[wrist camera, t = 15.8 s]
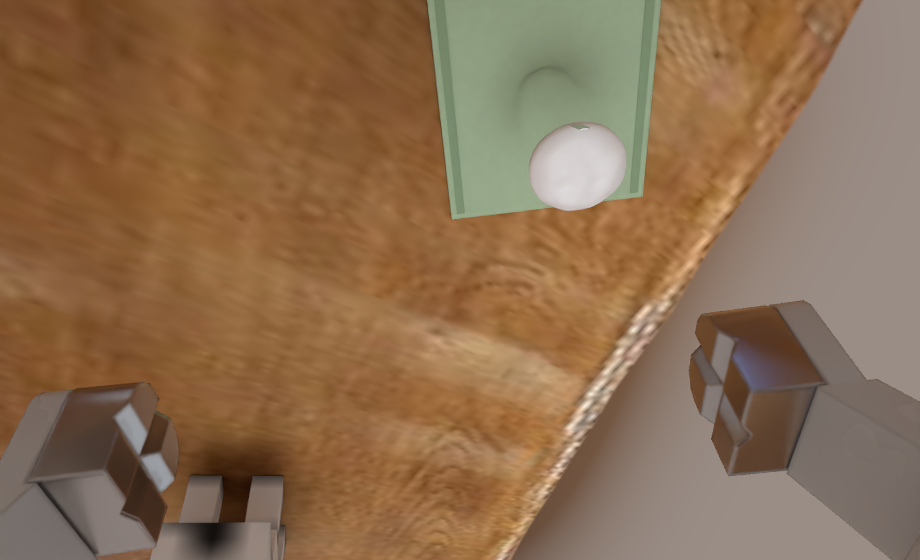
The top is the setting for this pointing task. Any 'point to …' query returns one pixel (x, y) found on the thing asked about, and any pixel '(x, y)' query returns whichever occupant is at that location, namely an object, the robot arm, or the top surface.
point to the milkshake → (567, 143)
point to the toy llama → (225, 524)
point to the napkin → (505, 69)
